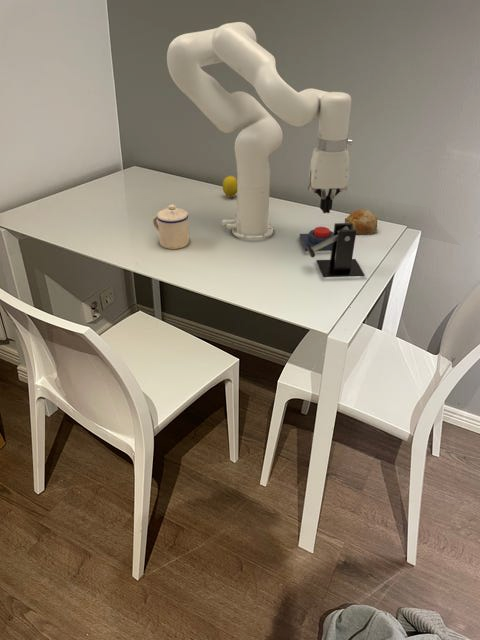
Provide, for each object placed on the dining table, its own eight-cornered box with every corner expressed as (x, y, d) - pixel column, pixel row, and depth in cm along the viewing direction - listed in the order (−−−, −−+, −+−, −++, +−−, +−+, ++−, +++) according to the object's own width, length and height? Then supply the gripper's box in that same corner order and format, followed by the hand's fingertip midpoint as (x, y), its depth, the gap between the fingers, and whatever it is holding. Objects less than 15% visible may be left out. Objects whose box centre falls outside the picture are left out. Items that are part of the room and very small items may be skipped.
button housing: (304, 254, 141) (305, 241, 139) (299, 240, 149) (300, 228, 147) (342, 253, 142) (344, 240, 140) (335, 239, 150) (336, 227, 147)
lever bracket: (322, 280, 129) (328, 235, 122) (315, 263, 137) (320, 220, 129) (364, 278, 130) (371, 234, 123) (354, 262, 137) (361, 219, 130)
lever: (312, 260, 128) (309, 252, 126) (308, 250, 132) (305, 243, 131) (354, 239, 125) (350, 231, 124) (348, 230, 130) (345, 222, 128)
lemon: (222, 194, 180) (222, 172, 175) (237, 194, 180) (237, 172, 175) (223, 200, 175) (222, 178, 170) (238, 200, 175) (238, 177, 171)
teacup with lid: (196, 240, 148) (194, 203, 141) (177, 252, 142) (174, 214, 135) (164, 231, 153) (161, 195, 147) (145, 242, 147) (141, 205, 140)
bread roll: (369, 247, 153) (384, 226, 148) (340, 231, 152) (355, 210, 147) (368, 234, 161) (383, 214, 156) (341, 219, 160) (355, 198, 155)
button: (315, 238, 142) (316, 233, 141) (312, 232, 145) (313, 226, 144) (330, 238, 142) (331, 232, 141) (327, 231, 145) (327, 226, 144)
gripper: (356, 140, 132) (348, 205, 143) (300, 141, 131) (296, 207, 142) (364, 147, 126) (355, 215, 136) (306, 149, 125) (301, 217, 136)
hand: (325, 211), depth 139 cm, fingers closed
